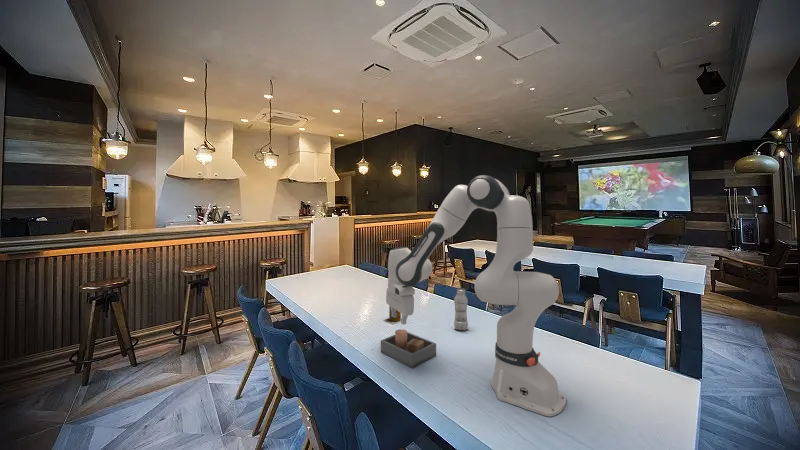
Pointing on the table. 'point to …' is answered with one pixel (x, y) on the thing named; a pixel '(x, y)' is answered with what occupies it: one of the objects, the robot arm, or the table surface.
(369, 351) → the table surface
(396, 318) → the condiment
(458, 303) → the plastic bottle
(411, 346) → the walnut cube
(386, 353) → the tote
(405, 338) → the terracotta cylinder
